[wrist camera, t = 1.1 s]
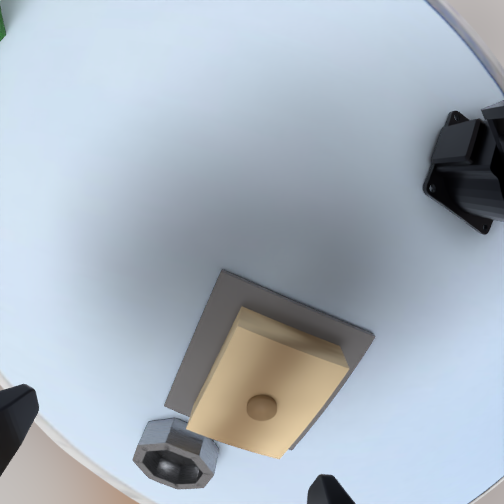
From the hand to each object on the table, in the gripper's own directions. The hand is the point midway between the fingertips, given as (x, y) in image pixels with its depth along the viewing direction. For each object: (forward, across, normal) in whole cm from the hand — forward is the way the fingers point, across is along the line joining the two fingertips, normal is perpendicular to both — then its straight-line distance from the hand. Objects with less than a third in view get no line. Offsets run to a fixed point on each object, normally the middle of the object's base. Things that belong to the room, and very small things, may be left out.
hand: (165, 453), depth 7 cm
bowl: (+12, +1, +15) cm, 19 cm away
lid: (+12, -4, +5) cm, 14 cm away
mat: (+12, -4, +5) cm, 14 cm away
